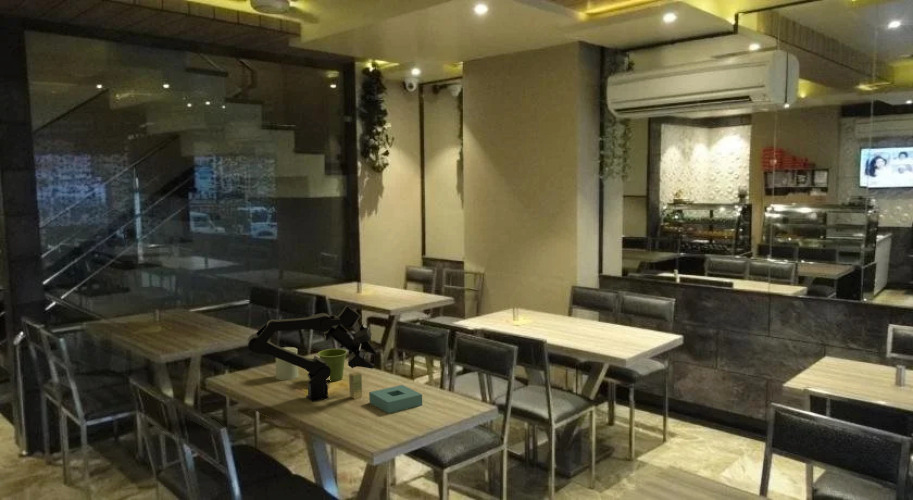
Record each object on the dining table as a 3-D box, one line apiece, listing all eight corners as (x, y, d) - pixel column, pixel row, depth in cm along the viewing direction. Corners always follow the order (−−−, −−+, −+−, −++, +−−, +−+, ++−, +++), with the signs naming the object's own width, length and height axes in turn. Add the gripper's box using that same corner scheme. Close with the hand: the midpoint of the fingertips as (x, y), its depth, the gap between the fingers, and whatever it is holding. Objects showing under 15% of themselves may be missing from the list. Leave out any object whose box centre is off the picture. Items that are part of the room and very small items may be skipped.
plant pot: (314, 378, 269) (313, 351, 268) (339, 373, 276) (339, 347, 275) (326, 385, 260) (325, 357, 259) (353, 379, 267) (352, 352, 266)
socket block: (388, 413, 227) (388, 402, 227) (369, 402, 239) (369, 392, 238) (422, 405, 235) (422, 394, 235) (402, 395, 247) (402, 384, 246)
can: (295, 380, 267) (294, 351, 266) (273, 380, 268) (271, 351, 266) (301, 373, 277) (300, 345, 275) (279, 373, 277) (278, 346, 275)
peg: (353, 399, 243) (353, 375, 242) (349, 396, 246) (349, 373, 245) (362, 397, 245) (361, 373, 244) (357, 394, 248) (357, 371, 247)
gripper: (354, 338, 235) (386, 362, 240) (360, 311, 252) (390, 334, 257) (334, 356, 239) (366, 380, 244) (341, 328, 255) (371, 351, 260)
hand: (374, 360), depth 251 cm, fingers open, 9 cm apart
